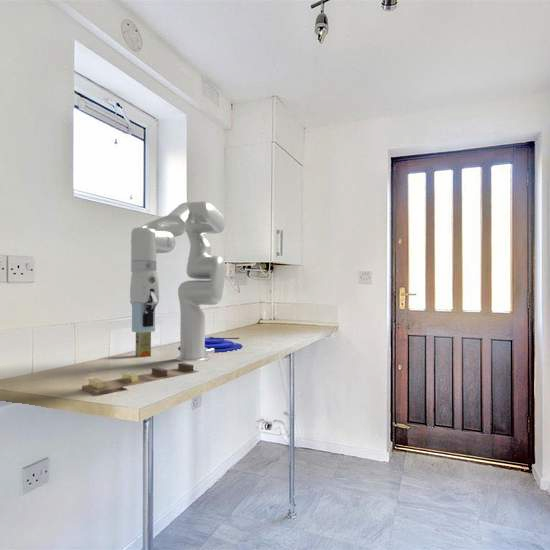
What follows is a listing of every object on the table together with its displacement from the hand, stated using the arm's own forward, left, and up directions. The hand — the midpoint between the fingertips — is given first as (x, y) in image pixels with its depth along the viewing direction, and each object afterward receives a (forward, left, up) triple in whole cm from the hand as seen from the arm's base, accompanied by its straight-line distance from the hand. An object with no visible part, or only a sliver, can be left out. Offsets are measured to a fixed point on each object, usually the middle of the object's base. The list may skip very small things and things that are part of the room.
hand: (143, 325), depth 123 cm
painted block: (0, 0, -2) cm, 2 cm away
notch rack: (-1, 0, -18) cm, 18 cm away
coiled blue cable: (-56, -37, -18) cm, 69 cm away
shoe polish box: (-23, -41, -18) cm, 50 cm away
